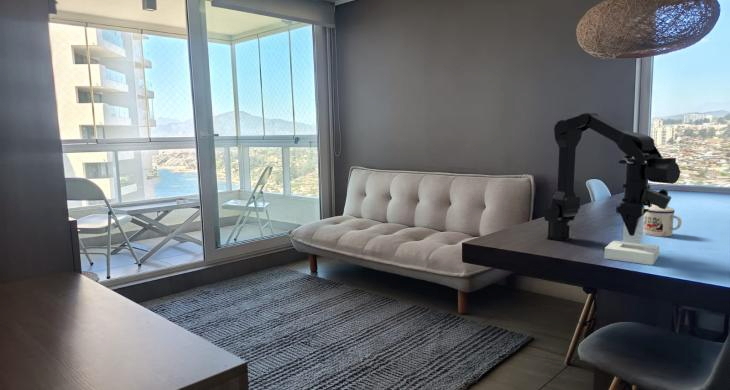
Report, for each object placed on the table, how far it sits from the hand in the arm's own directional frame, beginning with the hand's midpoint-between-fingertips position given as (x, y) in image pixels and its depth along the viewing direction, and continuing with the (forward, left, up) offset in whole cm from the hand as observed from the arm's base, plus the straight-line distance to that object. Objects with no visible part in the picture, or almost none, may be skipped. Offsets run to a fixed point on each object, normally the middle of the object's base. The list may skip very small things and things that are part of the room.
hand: (632, 234), depth 136 cm
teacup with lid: (+3, +38, -7) cm, 39 cm away
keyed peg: (0, 0, -2) cm, 2 cm away
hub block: (0, 0, -7) cm, 7 cm away
